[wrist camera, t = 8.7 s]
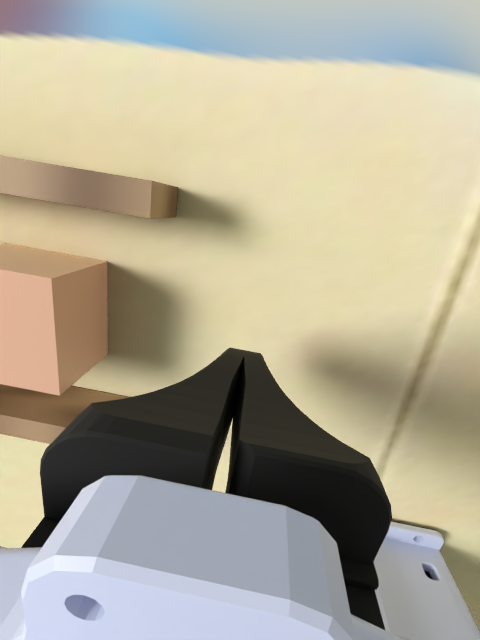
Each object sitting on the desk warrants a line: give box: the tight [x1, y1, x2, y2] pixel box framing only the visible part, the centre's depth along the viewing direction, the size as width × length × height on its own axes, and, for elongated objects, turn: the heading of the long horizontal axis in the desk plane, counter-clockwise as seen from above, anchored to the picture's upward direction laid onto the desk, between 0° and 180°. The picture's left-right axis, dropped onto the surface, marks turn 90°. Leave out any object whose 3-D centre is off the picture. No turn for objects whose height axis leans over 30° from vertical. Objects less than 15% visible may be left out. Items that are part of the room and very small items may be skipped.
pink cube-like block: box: [0, 244, 108, 396], centre depth 13 cm, size 5×5×4 cm
